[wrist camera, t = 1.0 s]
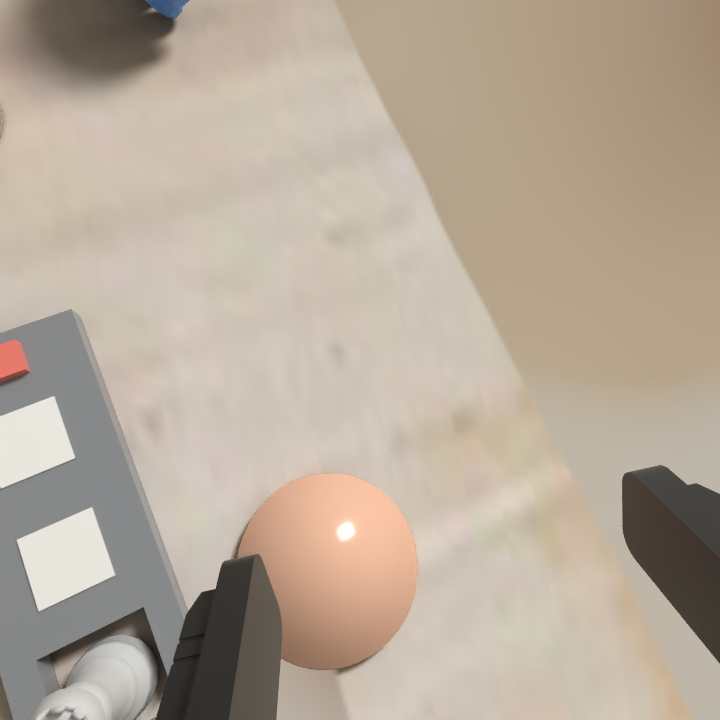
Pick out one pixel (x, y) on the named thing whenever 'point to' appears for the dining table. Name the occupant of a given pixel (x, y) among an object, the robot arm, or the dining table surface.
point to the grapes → (168, 7)
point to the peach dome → (334, 567)
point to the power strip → (69, 512)
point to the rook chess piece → (105, 683)
